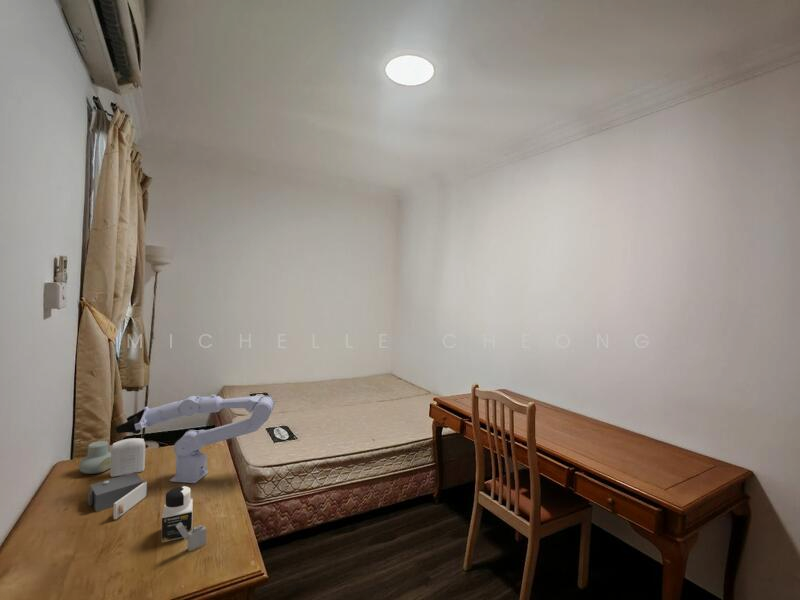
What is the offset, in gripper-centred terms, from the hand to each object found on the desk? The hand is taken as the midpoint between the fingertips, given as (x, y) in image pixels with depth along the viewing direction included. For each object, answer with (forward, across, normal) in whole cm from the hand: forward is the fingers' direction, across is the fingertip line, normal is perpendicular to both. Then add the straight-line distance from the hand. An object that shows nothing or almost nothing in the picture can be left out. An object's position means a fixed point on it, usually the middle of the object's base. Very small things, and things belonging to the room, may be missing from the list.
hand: (122, 425), depth 132 cm
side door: (-6, +20, +20) cm, 29 cm away
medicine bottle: (-23, +35, +25) cm, 48 cm away
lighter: (-28, +43, +26) cm, 57 cm away
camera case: (+2, +13, +19) cm, 23 cm away
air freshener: (+18, -8, +16) cm, 25 cm away
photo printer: (+6, -5, +19) cm, 21 cm away
